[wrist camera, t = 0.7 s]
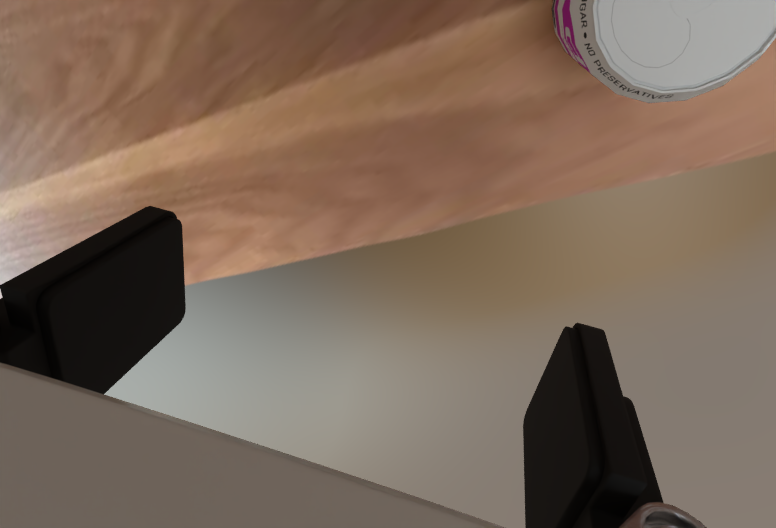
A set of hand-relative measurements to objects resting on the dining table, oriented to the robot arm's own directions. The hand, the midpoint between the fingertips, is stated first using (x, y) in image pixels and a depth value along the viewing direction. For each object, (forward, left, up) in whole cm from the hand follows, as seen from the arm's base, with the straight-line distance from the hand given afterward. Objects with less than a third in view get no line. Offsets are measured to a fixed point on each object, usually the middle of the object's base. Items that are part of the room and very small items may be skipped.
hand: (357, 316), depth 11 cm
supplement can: (-8, +9, -29) cm, 31 cm away
